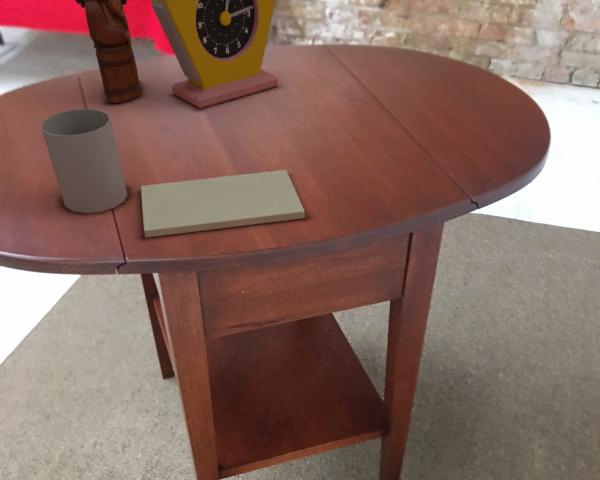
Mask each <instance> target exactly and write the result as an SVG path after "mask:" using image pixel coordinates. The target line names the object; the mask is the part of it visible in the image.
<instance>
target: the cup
mask: <svg viewBox="0 0 600 480" xmlns="http://www.w3.org/2000/svg"><path fill="white" fill-rule="evenodd" d="M40 128H41V132H42V135H43V139H44V142H45V145H46V147H47V152H48V154H49V158H50V161H51V164H52V168H53V171H54V175H55V178H56V181H57V184H58V187H59V188H58V189H59V191H60V194H61V197H62V201H63V205H64V207H65V208H67V209H69V210H70V211H72V212H76V213H81V214H93V213H101V212H106V211H108V210H112V209H114V208H116V207H118V206H119V205H121V204H122V203H124V202H125V200H126V198H127V197H128V191H127V186H126V182H125V178H124V173H123V169H122V164H121V160H120V155H119V150H118V145H117V142H116V137H115V133H114V129H113V124H112V120H111V117H110V114H109V113H108V112H105V111H102V110H100V109H92V108H78V109H69V110H65V111H61V112H57V113H55V114H53V115H51V116H47V117H46V118H45V119H44V120H43V121H42V122H41V123H40Z"/></svg>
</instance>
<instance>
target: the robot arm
mask: <svg viewBox="0 0 600 480" xmlns="http://www.w3.org/2000/svg"><path fill="white" fill-rule="evenodd" d="M85 1H86V0H75V3H76V4H77V5H80V8H81V9H85ZM122 3H123V6H124V5H128V0H122Z"/></svg>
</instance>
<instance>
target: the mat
mask: <svg viewBox="0 0 600 480" xmlns="http://www.w3.org/2000/svg"><path fill="white" fill-rule="evenodd" d="M140 194H141V208H142V222H143V223H142V224H143V233H144V238H155V237H164V236H171V235H179V234H187V233H195V232H202V231H203V232H205V231H210V230H219V229H228V228H236V227H237V228H238V227H243V226H251V225H261V224H268V223H276V222H284V221H293V220H301V219H305V217H306V213H305V212H306V211H305V208H304V207H303V205H302V202H301V200H300V198H299V195H298V193H297V191H296V189H295V186H294V184H293V182H292V180H291V177H290V176H289V173H288V171H287V169H278V170H272V171H263V172H254V173H253V172H252V173H245V174H243V173H242V174H236V175H234V174H233V175H226V176H216V177H208V178H199V179H198V178H197V179H189V180H181V181H173V182H171V181H170V182H164V183H163V182H162V183H155V184H147V185H146V184H145V185H140Z"/></svg>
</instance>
